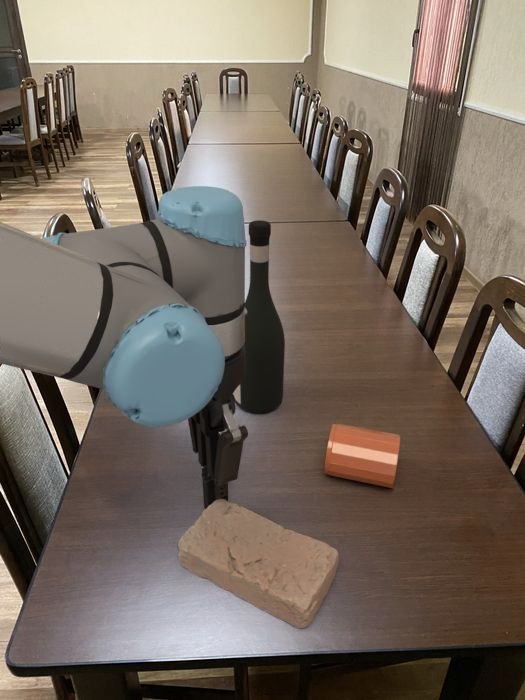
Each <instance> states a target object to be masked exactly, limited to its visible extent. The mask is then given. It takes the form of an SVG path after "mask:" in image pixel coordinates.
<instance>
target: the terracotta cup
mask: <svg viewBox="0 0 525 700" xmlns="http://www.w3.org/2000/svg"><path fill="white" fill-rule="evenodd" d="M400 445H401V435H400V434H397V433H391V432H386V431H380V430H375V429H369V428H364V427H358V426H353V425H347V424H343V423H335V422H333V423H332V425H331V429H330V432H329V437H328V441H327V445H326V446H327V447H326V452H325V453H326V454H325V461H324V470H323V471H324V475H327V476H330V477H335V478H339V479H345V480H349V481H350V480H351V481H355V482H360V483H365V484H369V485H374V486H379V487H383V488H389V489H393V488H394V484H395V479H396V473H397V468H398V460H399V454H400Z"/></svg>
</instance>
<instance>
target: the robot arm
mask: <svg viewBox="0 0 525 700" xmlns="http://www.w3.org/2000/svg"><path fill="white" fill-rule="evenodd" d="M246 247H247V239H246V226H245V215H244V206H243V203H242V201H241V199H240V197H238V196H237V195H236V194H235V193H234V192H231V191H230V190H228V189H226V188H221V187H216V186H208V185H207V186H206V185H194V186H183V187H178V188H177V189H174V190H168V191H166V192H165V193H163V194H162V195H161V196H160V198H159V201H158V210H157V218H155V219H152V220H147V221H144V222H139V223H133V224H125V225H119V226H111V227H110V226H109V227H103V228H96V229H90V230H83V231H76V232H69V233H67V232H64V231H62V232H58V233H56V234H55V235H49V236H45V237H42V238H41V237H40V236H39V237H38V236H36V235H33V234H32V233H29V232H26V231H24V230H21V229H19V228H16V227H15V226H12V225H9V224H6V223H4V222H2V221H0V364H1V365H4V366H8V367H13V368H18V369H21V370H25V371H30V372H34V373H37V374H42V375H47V376H51V377H56V378H59V379H63V380H66V381H70V382H73V383H77V384H81V385H85V386H89V387H94V388H97V389H101V390H104V393H105V395H106V398H107V400H108V401H109V402H110V404H111V405H113V406H114V407H115V408H117V409H118V410H119V411H120V413H121V414H122V415H123V416H124V417H126V418H127V419H129V420H131V421H132V422H133V423H136V424H137V425H140V426H143V427H149V428H162V427H163V428H164V427H169V426H173V425H177V424H180V423H182V422H186V420H187V423H188V428H189V434H190V440H191V448H192V451H193V452H194V454H197V457H198V459H197V461H198V464H199V465H200V467H202V468H201V481H202V484H201V485H202V495H203V496H202V498H203V509H204V510H205V509H207V508H208V506H209V505H211V504H212V503H213V502H214V501H215V500H218V499H225V500H226V501H228V502H229V483H230V482H233V481H236V480H238V477H239V471H240V465H241V461H242V455H243V454H242V453H243V447H244V441H245V440H246V439H247V438H248V437H249V431H248V430H249V429H248V428H247V426H246V425H240V424H237V421H236V419H235V417H234V415H235V413H236V409H237V408H236V407H237V406H236V402H235V397H234V391H235V390H236V388H237V387H238V386H239V385H240V384H241V383H242V381H243V380H244V378H245V374H246V350H245V346H244V342H245V316H246V315H247V310H246V308H245V301H246V292H245V291H246V279H245V278H246Z"/></svg>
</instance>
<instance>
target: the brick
mask: <svg viewBox="0 0 525 700" xmlns="http://www.w3.org/2000/svg"><path fill="white" fill-rule="evenodd" d="M177 545H178V553H177V555H178V557H179V560H178V561H179V564H180V565H181V566H182V568H185V569H186V570H188V571H189V572H190V573H192V574H193V575H196V576H198V577H200V578H204V579H209V580H210V581H211V582H212V583H213V584H214V585H216V586H218V587H219V588H222V589H223V590H225V591H227V592H230V593H232V594H233V595H234V596H235V597H238V598H240V599H242V600H244V601H245V602H248V603H251V604H252V605H253V606H254V607H256V608H257V609H259V610H262V611H265V612H266V613H267V614H269V615H271V616H273V617H275V618H277V619H278V620H282V621H284V622H286V623H288V624H290V625H292V626H294V627H296V628H299V629H304V628H306V627H308V626H309V625H310V624H311V623H312V622H313V620H314V619H315V617H316V615H317V613H318V612H319V609H320V607H321V606H322V603H323V600H324V599H325V597H327V595H328V593H329V591H330V588H331V585H332V583H333V582H334V580H335V577H336V573H337V570H338V567H339V563H340V554H339V551H338V550H337V549H336V548H334V547H332V546H331V545H330V544H329V543H326V542H324V541H321V540H318V539H316V538H314V537H311V536H308V535H305V534H302V533H300V532H296V531H295V530H291V529H286V528H284V526H282V525H280V524H278V523H276V522H275V521H273V520H271V519H269V518H266V517H265V516H262V515H260V514H258V513H256V512H254V511H252V510H250V509H249V508H246V507H244V506H239V505H238V504H237V503H235V502H229V500H228V501H226V500H225V499H218V500H215V501H214V502H213V503H212V504H211V505H209V506H208V508H207V509H204V510H203V511H202V514H200V516H199V518H197V519H196V521H195V522H194V523H193V524H192V525H191V526H190V527H189V528H188V529H186V531H185V533H184V534H182V536H181V537H180V538H179V541H178V544H177Z"/></svg>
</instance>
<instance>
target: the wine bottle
mask: <svg viewBox="0 0 525 700" xmlns="http://www.w3.org/2000/svg"><path fill="white" fill-rule="evenodd" d="M271 233H272V225H271V222H269V221H267V220H261V219H259V220H252V221H250V222H249V224H248V236H249V275H250V276H249V287H248V292H247V295H246V297H245V308H246V310H247V315H246V316H245V342H244V346H245V350H246V374H245V378H244V380H243V381H242V383H241V384H240V385H239V386H238V387H237V388H236V390H235V391H234V393H233V395H234V397H235V405H237V406H238V407H239V408H240V410H241V409H242V410H244V411H245V412H248V413H252V414H264V413H269V412H272V411H273V410H275V409H277V408H278V407H279V406H280V405H281V403H283V402H282V401H283V397H284V377H285V376H284V375H285V353H286V352H285V350H286V349H285V348H286V338H285V331H284V326H283V323H282V321H281V318H280V316H279V313H278V311H277V308H276V306H275V303H274V300H273V298H272V294H271V290H270V281H269V280H270V279H269V277H270V276H269V273H270V271H269V270H270V269H269V268H270V238H271V235H272V234H271Z"/></svg>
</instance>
